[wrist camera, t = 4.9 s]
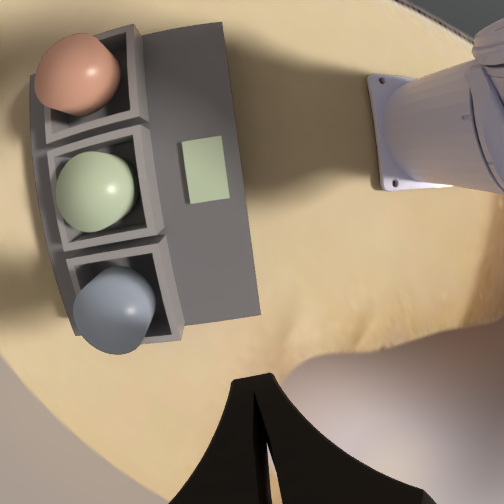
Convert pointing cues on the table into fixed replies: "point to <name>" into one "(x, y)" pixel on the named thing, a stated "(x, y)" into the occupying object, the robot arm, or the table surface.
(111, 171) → the sage button
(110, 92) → the terracotta button
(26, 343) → the table surface
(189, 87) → the console
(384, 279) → the table surface
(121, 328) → the slate button
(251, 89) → the table surface
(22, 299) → the table surface
